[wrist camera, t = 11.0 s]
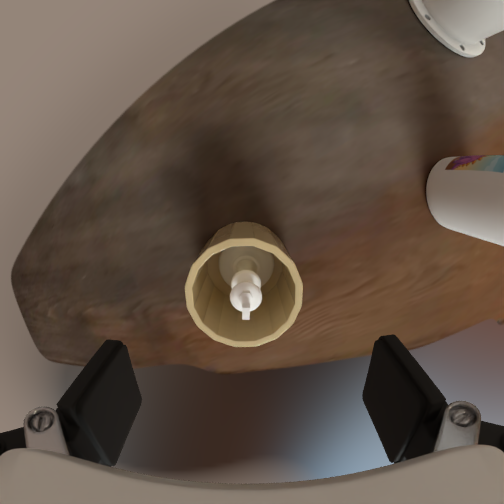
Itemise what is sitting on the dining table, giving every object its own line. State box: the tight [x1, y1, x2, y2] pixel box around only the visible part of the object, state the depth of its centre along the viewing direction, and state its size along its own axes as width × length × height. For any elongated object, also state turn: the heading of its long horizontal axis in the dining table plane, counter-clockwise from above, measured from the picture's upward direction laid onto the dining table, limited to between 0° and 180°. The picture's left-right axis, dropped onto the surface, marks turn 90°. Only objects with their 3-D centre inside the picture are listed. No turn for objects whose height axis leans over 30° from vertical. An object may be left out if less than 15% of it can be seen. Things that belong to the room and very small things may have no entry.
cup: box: [185, 222, 303, 347], centre depth 22 cm, size 8×8×8 cm
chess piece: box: [218, 246, 274, 320], centre depth 21 cm, size 5×5×10 cm
